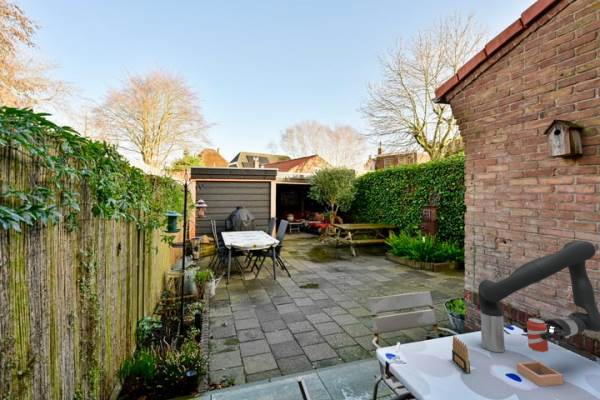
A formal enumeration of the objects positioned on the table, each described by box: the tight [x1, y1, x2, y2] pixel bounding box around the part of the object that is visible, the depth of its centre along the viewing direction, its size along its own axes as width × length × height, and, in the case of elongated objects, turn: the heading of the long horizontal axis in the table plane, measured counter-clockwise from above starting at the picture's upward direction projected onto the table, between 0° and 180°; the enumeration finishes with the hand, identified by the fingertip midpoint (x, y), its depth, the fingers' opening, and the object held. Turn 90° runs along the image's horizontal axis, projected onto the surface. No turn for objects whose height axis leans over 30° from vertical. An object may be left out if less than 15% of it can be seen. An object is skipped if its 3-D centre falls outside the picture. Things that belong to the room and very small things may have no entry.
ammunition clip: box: [451, 335, 471, 374], centre depth 125 cm, size 11×2×12 cm, turn 1°
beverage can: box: [526, 317, 549, 353], centre depth 116 cm, size 6×6×12 cm
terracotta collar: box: [516, 360, 565, 387], centre depth 115 cm, size 10×10×4 cm
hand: (533, 333), depth 115 cm, fingers closed on beverage can, 6 cm apart
